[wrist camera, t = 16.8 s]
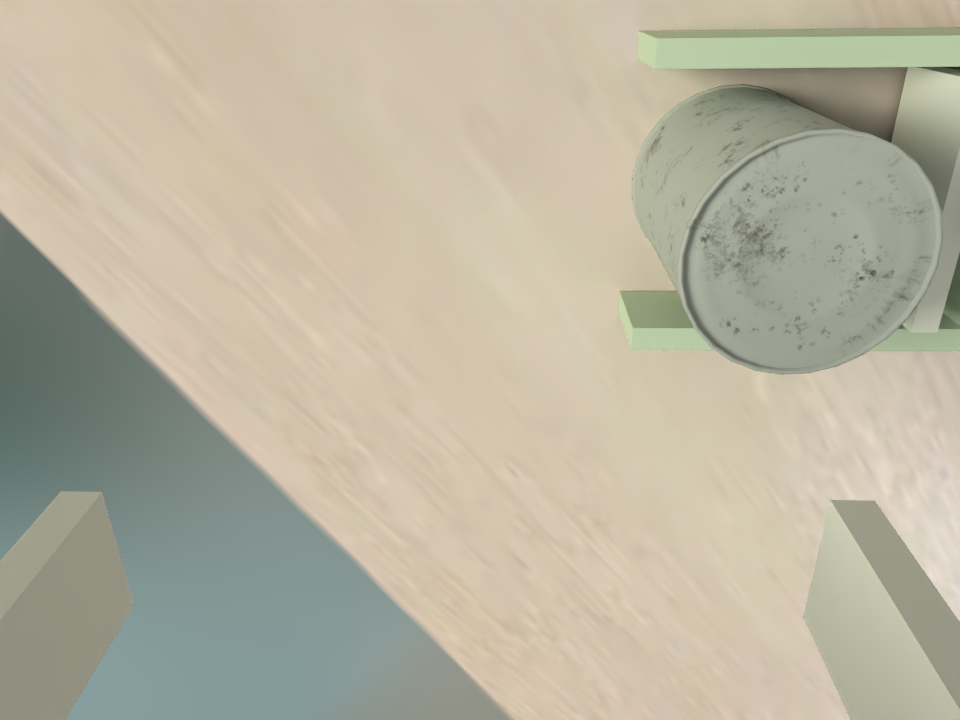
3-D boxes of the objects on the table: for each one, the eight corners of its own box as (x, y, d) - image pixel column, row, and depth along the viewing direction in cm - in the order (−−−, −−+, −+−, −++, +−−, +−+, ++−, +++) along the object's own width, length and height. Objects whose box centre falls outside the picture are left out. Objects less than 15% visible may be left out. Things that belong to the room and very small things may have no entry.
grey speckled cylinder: (766, 42, 36) (877, 69, 25) (852, 202, 40) (984, 288, 29) (595, 161, 39) (629, 233, 28) (690, 302, 42) (753, 416, 31)
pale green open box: (618, 311, 43) (630, 350, 38) (638, 31, 36) (657, 38, 32) (932, 312, 42) (982, 351, 38) (1010, 27, 36) (1081, 34, 31)
